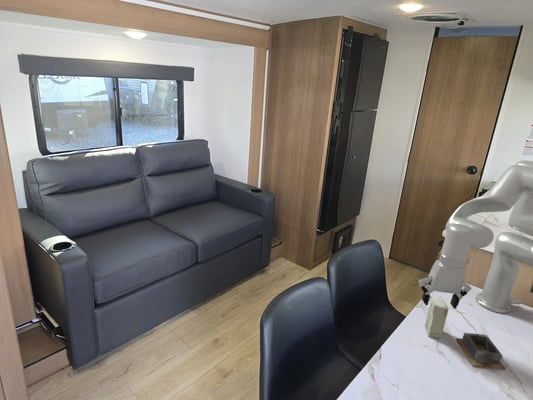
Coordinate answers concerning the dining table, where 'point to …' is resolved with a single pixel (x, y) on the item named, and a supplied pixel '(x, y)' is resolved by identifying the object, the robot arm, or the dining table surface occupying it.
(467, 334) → the sleeve stand
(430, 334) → the skincare box
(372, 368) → the dining table surface
